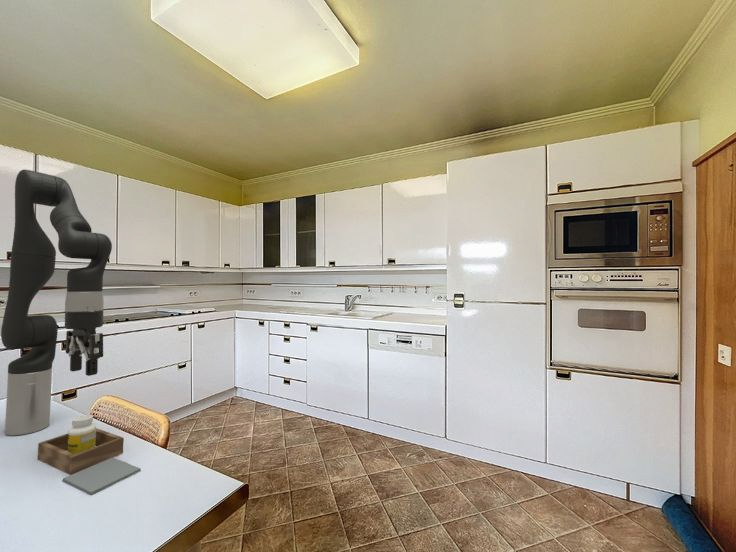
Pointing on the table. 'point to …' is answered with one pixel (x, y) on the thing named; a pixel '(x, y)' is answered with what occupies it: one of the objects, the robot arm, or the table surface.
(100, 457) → the walnut box
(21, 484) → the table surface
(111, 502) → the table surface
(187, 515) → the table surface
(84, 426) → the supplement bottle
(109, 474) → the slate mat
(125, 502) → the table surface
